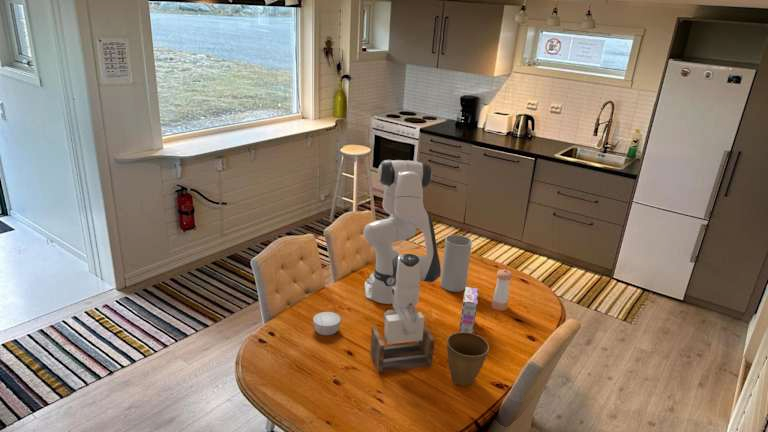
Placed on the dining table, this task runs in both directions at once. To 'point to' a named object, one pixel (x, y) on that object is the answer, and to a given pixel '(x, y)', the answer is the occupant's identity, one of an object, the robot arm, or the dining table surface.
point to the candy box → (469, 309)
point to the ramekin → (326, 323)
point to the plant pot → (465, 356)
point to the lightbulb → (389, 313)
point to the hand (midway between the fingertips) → (403, 330)
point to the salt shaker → (501, 290)
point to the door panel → (401, 330)
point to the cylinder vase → (455, 262)
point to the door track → (402, 353)
